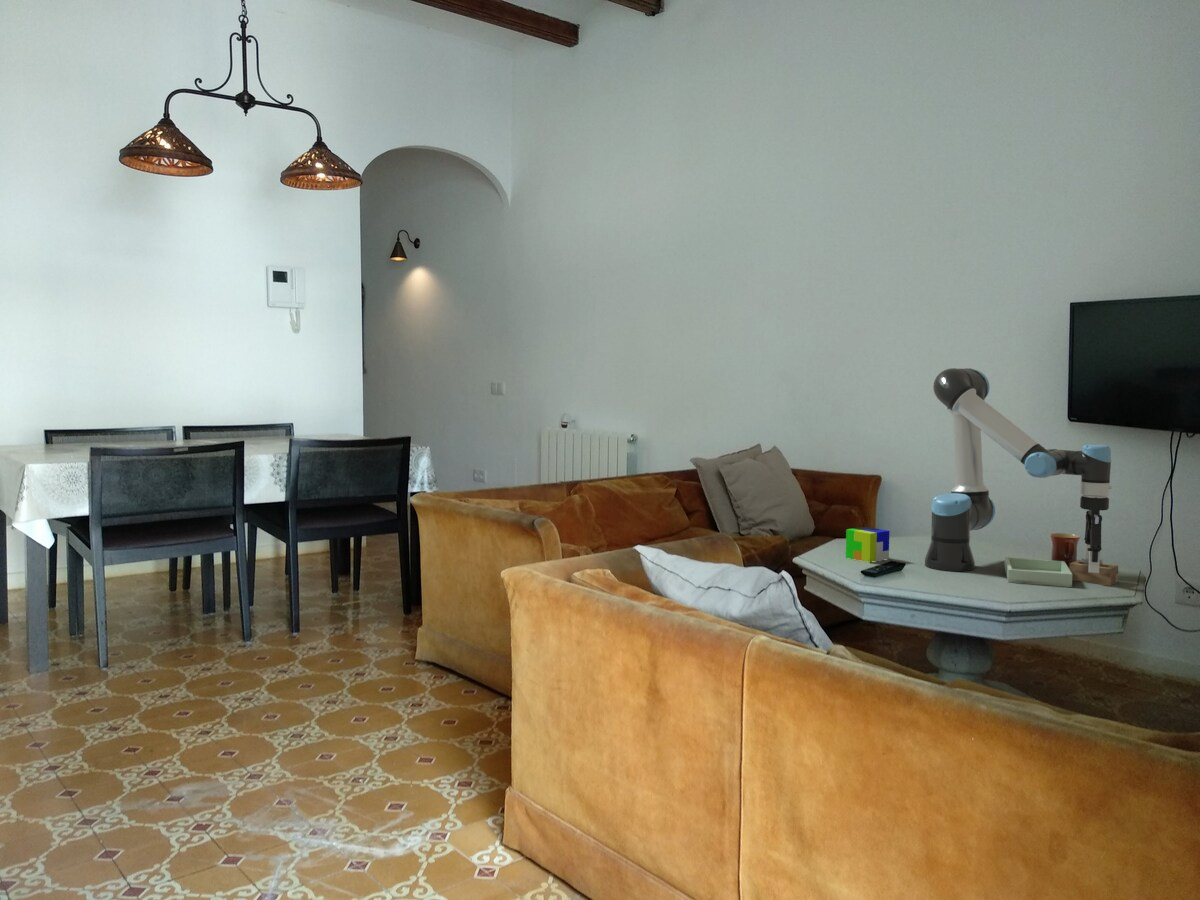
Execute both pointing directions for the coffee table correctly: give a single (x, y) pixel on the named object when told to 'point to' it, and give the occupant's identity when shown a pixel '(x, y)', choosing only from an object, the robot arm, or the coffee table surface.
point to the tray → (1038, 572)
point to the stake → (1086, 560)
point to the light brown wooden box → (1104, 577)
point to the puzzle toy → (867, 544)
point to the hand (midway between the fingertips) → (1091, 569)
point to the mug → (1064, 547)
